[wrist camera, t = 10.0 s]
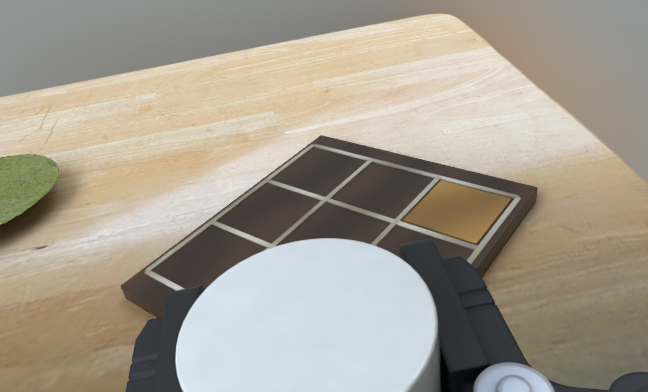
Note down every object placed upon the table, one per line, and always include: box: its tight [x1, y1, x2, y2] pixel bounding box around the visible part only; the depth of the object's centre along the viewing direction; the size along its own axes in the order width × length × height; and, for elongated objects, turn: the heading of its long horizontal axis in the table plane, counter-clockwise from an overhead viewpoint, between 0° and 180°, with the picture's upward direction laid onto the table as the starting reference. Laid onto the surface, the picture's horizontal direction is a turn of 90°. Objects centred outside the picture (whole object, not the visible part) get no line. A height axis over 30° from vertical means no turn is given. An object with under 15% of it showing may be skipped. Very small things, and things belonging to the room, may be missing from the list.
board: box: [121, 135, 537, 318], centre depth 32 cm, size 16×18×1 cm
